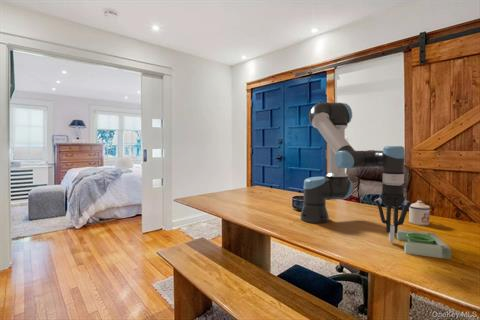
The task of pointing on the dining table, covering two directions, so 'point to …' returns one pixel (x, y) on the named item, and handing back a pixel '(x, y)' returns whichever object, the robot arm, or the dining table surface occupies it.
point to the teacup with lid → (419, 213)
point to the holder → (425, 246)
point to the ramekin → (420, 238)
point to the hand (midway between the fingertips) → (391, 240)
